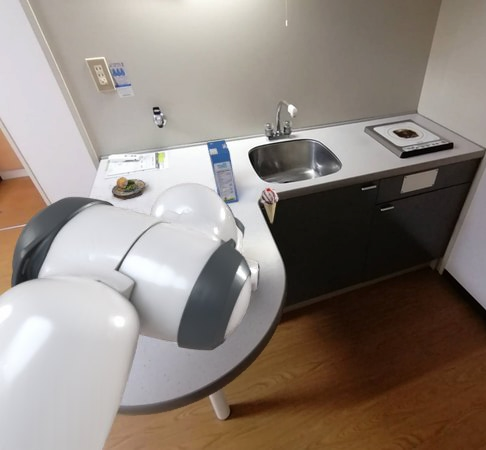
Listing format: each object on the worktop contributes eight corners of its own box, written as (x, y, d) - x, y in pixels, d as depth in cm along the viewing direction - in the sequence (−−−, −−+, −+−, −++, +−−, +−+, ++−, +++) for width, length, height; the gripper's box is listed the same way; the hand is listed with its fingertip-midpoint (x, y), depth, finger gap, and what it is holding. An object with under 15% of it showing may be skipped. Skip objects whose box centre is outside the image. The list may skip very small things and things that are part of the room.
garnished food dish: (147, 194, 117) (140, 177, 112) (113, 202, 113) (105, 185, 108) (144, 179, 125) (138, 163, 121) (113, 187, 121) (105, 170, 117)
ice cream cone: (259, 226, 102) (255, 188, 92) (271, 218, 105) (268, 180, 96) (271, 233, 99) (268, 195, 90) (283, 224, 103) (281, 187, 93)
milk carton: (238, 201, 113) (229, 151, 100) (221, 205, 112) (210, 155, 99) (233, 187, 120) (224, 139, 107) (217, 190, 119) (206, 142, 106)
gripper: (204, 239, 84) (154, 239, 84) (182, 301, 69) (121, 301, 69) (208, 255, 88) (161, 255, 88) (189, 317, 73) (131, 317, 73)
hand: (143, 276), depth 78 cm, fingers open, 5 cm apart
